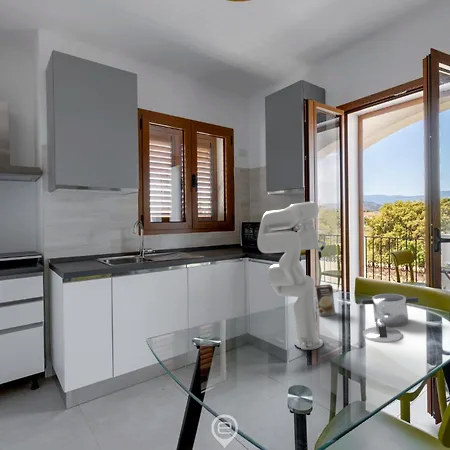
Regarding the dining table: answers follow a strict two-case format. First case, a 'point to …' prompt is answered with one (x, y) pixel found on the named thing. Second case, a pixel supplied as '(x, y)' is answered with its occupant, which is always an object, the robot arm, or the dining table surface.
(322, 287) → the coffee box
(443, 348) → the dining table surface
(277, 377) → the dining table surface
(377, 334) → the lid
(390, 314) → the pot
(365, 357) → the dining table surface
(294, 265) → the robot arm
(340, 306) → the dining table surface
